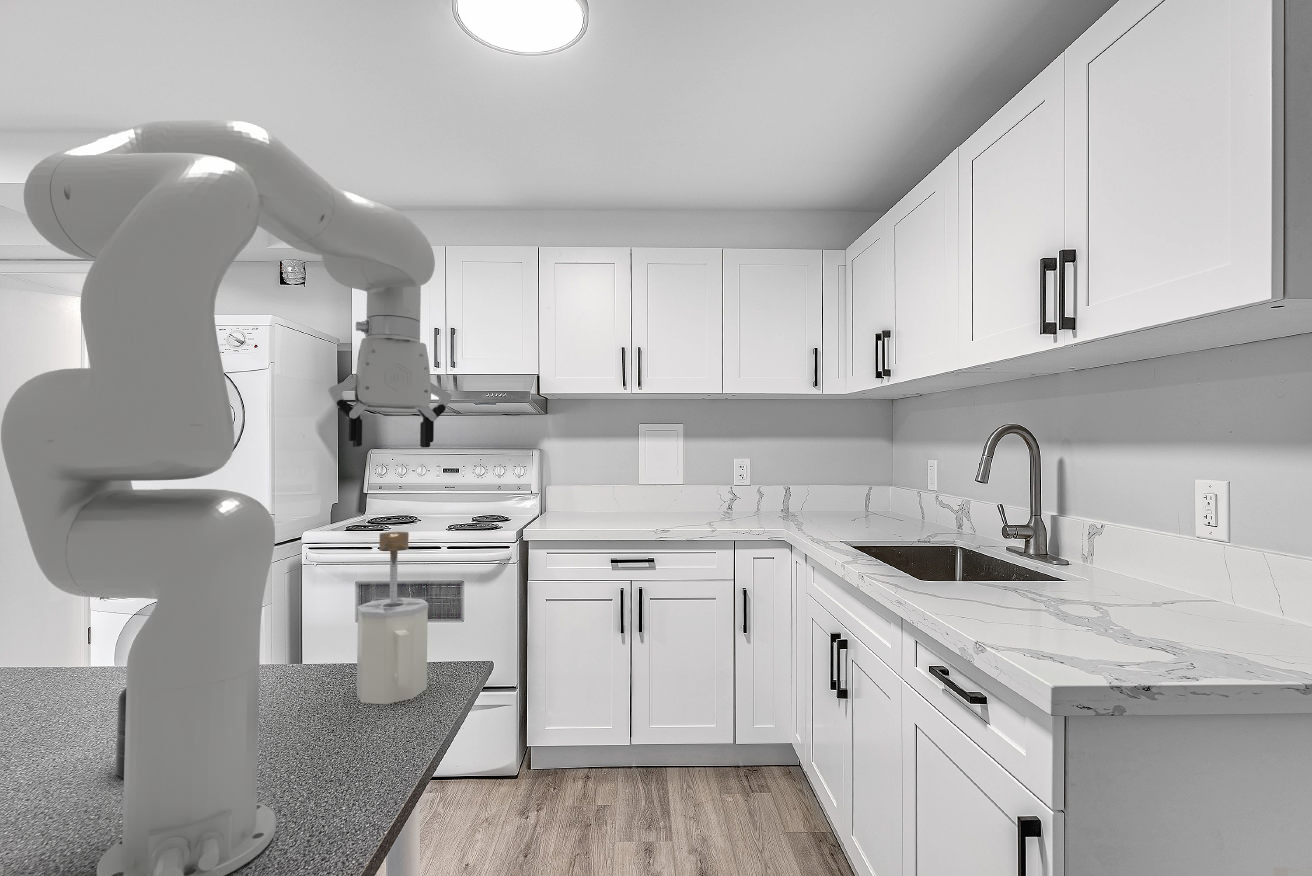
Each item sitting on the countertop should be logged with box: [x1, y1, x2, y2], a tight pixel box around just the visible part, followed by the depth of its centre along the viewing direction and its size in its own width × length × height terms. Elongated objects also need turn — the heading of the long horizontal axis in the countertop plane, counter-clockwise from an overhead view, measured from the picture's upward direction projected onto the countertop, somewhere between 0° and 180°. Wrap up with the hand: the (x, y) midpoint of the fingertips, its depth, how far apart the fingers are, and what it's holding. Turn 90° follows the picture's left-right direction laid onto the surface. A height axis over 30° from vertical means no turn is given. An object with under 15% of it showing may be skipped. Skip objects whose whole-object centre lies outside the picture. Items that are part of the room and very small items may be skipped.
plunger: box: [378, 531, 410, 607], centre depth 95 cm, size 4×4×17 cm
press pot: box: [356, 597, 429, 705], centre depth 93 cm, size 12×9×13 cm
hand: (392, 446), depth 95 cm, fingers open, 9 cm apart
